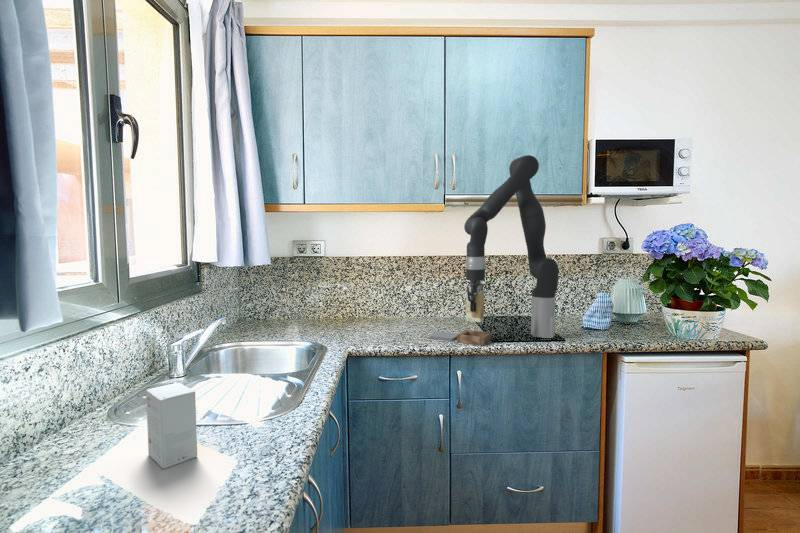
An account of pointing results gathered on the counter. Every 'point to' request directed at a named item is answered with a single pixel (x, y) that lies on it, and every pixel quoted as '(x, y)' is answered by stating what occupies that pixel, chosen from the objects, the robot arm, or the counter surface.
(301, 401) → the counter surface
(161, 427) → the small box
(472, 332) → the walnut holder
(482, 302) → the skincare box
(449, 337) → the grey flat plate
